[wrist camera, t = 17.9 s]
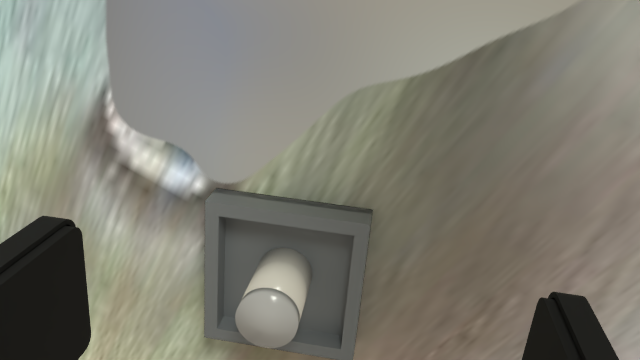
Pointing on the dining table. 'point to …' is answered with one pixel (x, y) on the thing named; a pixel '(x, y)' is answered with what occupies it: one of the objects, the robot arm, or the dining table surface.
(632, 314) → the dining table surface
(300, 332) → the tray
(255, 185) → the dining table surface
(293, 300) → the cylinder
